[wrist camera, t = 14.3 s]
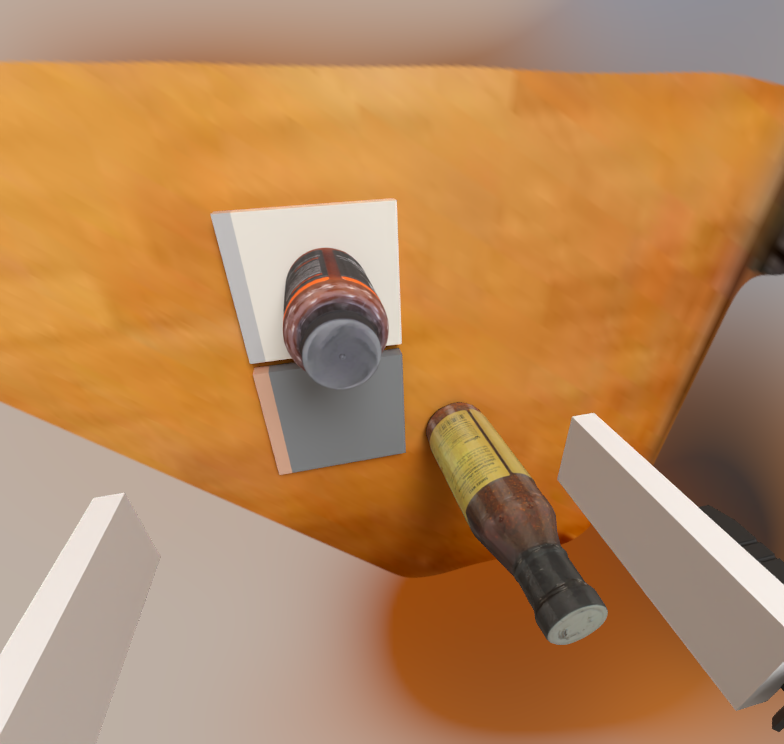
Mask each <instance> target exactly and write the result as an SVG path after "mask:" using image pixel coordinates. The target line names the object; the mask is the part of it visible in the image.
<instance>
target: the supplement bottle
mask: <svg viewBox="0 0 784 744" xmlns="http://www.w3.org/2000/svg"><path fill="white" fill-rule="evenodd" d="M388 334H389V323H388V318H387V315H386V312H385V309H384V307H383V305H382V303H381V301H380V299H379V297H378V295H377V293H376V292H375V290H374V288H373V286H372V284H371V283H370V281H369V279H368V277H367V275H366V273H365V272H364V270H363V268H362V267H361V265H360V264H359V263H358V262H357V261H356V260H355V259H354V258H353V257H352V256H350V255H349V254H347V253H346V252H344V251H341V250H338V249H334V248H317V249H313V250H310V251H308V252H306V253H304V254H303V255H301V256H300V257H299V258H298V259H297V260H296V261H295V262H294V263H293V265H292V266H291V268H290V270H289V272H288V275H287V278H286V283H285V295H284V310H283V338H284V343H285V346H286V349H287V351H288V353H289V354H290V356H291V358H292V359H293V360H294V361H295V363H296V364H297V365H298V366H300V368H302V369H303V370H304V371H306V372H307V374H308V375H309V376H310V378H312V380H313V381H315V382H316V383H318V384H319V385H321V386H323V387H326V388H329V389H334V390H346V389H350V388H355V387H357V386H360V385H361V384H363V383H365V382H366V381H367V380H369V379H370V378H371V377H372V375H373V374H374V373H375V371H377V369H378V366H379V364H380V361H381V355H382V353H383V351H384V349H385V347H386V344H387V340H388Z"/></svg>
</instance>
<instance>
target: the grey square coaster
mask: <svg viewBox="0 0 784 744" xmlns="http://www.w3.org/2000/svg"><path fill="white" fill-rule="evenodd" d="M253 377H254V381H255V384H256V388H257V392H258V396H259V400H260V403H261V407H262V411H263V415H264V418H265V422H266V426H267V430H268V434H269V437H270V441H271V445H272V449H273V452H274V456H275V460H276V464H277V468H278V471H279V475H282V474H288V473H294V472H299V471H305V470H311V469H316V468H322V467H327V466H333V465H339V464H344V463H350V462H356V461H361V460H367V459H372V458H378V457H384V456H389V455H395V454H401V453H406V450H405V422H404V394H403V366H402V353H401V351H400V349H399V348H396V349H389V350H384V351H383V353H382V355H381V361H380V364H379V366H378V369H377V371H375V373H374V374H373V375H372V377H371V378H370V379H369V380H367V381H366V382H365V383H363V384H361V385H360V386H357V387H355V388H350V389H346V390H334V389H329V388H326V387H323V386H321V385H319V384H318V383H316V382H315V381H313V380H312V378H310V376H309V375H308V374H307V372H306V371H304V370H303V369H302V368H300V366H298V365H297V364H296V363H295V362H293V363H285V364H278V365H270V366H263V367H256V368H254V372H253Z"/></svg>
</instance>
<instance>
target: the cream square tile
mask: <svg viewBox="0 0 784 744" xmlns="http://www.w3.org/2000/svg"><path fill="white" fill-rule="evenodd" d="M210 215H211V218H212V222H213V226H214V230H215V233H216V237H217V241H218V245H219V249H220V252H221V256H222V260H223V264H224V267H225V271H226V275H227V279H228V282H229V286H230V290H231V294H232V298H233V301H234V305H235V309H236V313H237V316H238V320H239V324H240V328H241V332H242V335H243V339H244V343H245V347H246V350H247V354H248V358H249V362H250V364H253V363H261V362H268V361H276V360H283V359H291V356H290V354H289V353H288V351H287V349H286V346H285V343H284V338H283V310H284V295H285V283H286V278H287V275H288V272H289V270H290V268H291V266H292V265H293V263H294V262H295V261H296V260H297V259H298V258H299V257H300V256H301V255H303V254H304V253H306V252H308V251H310V250H313V249H317V248H334V249H338V250H341V251H344V252H346V253H347V254H349V255H350V256H352V257H353V258H354V259H355V260H356V261H357V262H358V263H359V264H360V265H361V267H362V268H363V270H364V272H365V273H366V275H367V277H368V279H369V281H370V283H371V284H372V286H373V288H374V290H375V292H376V293H377V295H378V297H379V299H380V301H381V303H382V305H383V307H384V309H385V312H386V315H387V318H388V323H389V334H388V340H387V344H386V346H388V345H396V344H402V337H401V309H400V281H399V253H398V225H397V200H395V199H393V198H390V199H377V200H363V201H350V202H336V203H323V204H309V205H296V206H282V207H269V208H255V209H242V210H228V211H215V212H213V213H211V214H210Z"/></svg>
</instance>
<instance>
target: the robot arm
mask: <svg viewBox="0 0 784 744" xmlns="http://www.w3.org/2000/svg"><path fill="white" fill-rule="evenodd" d="M557 480H558V481H559V482H560V483H561V485H562V486H563V487H564V489H565V490H566V491H567V492H568V494H569V495H570V496H571V498H572V499H573V500H574V502H575V503H576V504H577V505H578V507H579V508H580V509H581V511H582V512H583V513H584V515H585V516H586V517H587V518H588V520H589V521H590V522H591V524H592V525H593V526H594V527H595V529H596V530H597V531H598V533H599V534H600V535H601V537H602V538H603V539H604V540H605V542H606V543H607V544H608V545H609V547H610V548H611V549H612V551H613V552H614V553H615V555H616V556H617V557H618V559H619V560H620V561H621V562H622V563H623V565H624V566H625V568H626V569H627V570H628V572H629V573H630V574H631V575H632V577H633V578H634V579H635V581H636V582H637V583H638V584H639V586H640V587H641V588H642V590H643V591H644V592H645V594H646V595H647V596H648V597H649V598H650V600H651V601H652V603H653V604H654V605H655V606H656V608H657V609H658V610H659V612H660V613H661V614H662V616H663V617H664V618H665V619H666V621H667V622H668V623H669V625H670V626H671V627H672V628H673V630H674V631H675V632H676V634H677V635H678V636H679V637H680V639H681V640H682V641H683V643H684V644H685V645H686V647H687V648H688V649H689V651H690V652H691V653H692V654H693V656H694V657H695V658H696V660H697V661H698V662H699V663H700V665H701V666H702V667H703V669H704V670H705V671H706V673H707V674H708V675H709V676H710V678H711V679H712V680H713V682H714V683H715V684H716V685H717V687H718V688H719V689H720V691H721V692H722V693H723V694H724V696H725V697H726V698H727V700H728V701H729V702H730V704H731V705H732V706H733V707H734V709H735V710H736V711H737V710H740V709H743V708H746V707H749V706H753V705H756V704H759V703H763V702H766V701H768V699H770V698H771V697H772V696H773V695H774V694H775V693H776V692H777V691H778V690H779V689H780V688H782V690H783V691H784V562H783V561H782V560H781V559H777V558H776V557H775V556H774V553H773V552H771V551H770V550H769V549H768V548H767V547H766V546H764V545H763V544H762V543H759V542H757V541H756V538H755V537H754V536H753V535H752V534H750V533H749V532H748V531H747V530H746V529H745V528H743V527H742V526H741V525H740V524H739V523H738V522H736V521H735V520H734V519H732V518H730V517H729V516H727V515H725V514H723V513H721V512H720V511H718V510H716V509H715V508H713V507H711V506H709V505H707V506H702V507H697V506H696V505H695V504H694V503H693V502H692V501H691V500H689V499H688V498H687V497H686V496H685V495H684V494H683V493H682V492H681V491H680V490H679V489H677V488H676V487H675V486H674V485H673V484H672V483H671V482H670V481H669V480H668V479H666V478H665V477H664V476H663V475H662V474H661V473H660V472H658V470H656V469H655V468H654V467H653V466H652V465H651V464H650V463H649V462H648V461H647V460H645V459H644V458H643V457H642V456H641V455H640V454H639V453H638V452H637V451H635V450H634V449H633V448H632V447H631V446H630V445H629V444H628V443H627V442H626V441H624V440H623V439H622V438H621V437H620V436H619V435H618V434H617V433H616V432H614V431H613V430H612V429H611V428H610V427H609V426H608V425H607V424H606V423H605V422H603V421H602V420H601V419H600V418H599V417H598V416H597V415H596V414H595V413H591V414H585V415H579V416H573V417H572V419H571V424H570V428H569V432H568V436H567V441H566V445H565V449H564V453H563V457H562V462H561V466H560V470H559V474H558V479H557ZM159 560H160V554H159V553H158V551H157V549H156V547H155V545H154V544H153V542H152V540H151V538H150V537H149V535H148V533H147V531H146V530H145V528H144V526H143V524H142V522H141V521H140V519H139V517H138V515H137V513H136V512H135V510H134V508H133V506H132V505H131V503H130V501H129V499H128V497H127V495H126V494H125V493H120V494H115V495H109V496H103V497H97V498H93V500H92V502H91V503H90V505H89V507H88V508H87V510H86V512H85V513H84V515H83V517H82V518H81V520H80V522H79V523H78V525H77V527H76V528H75V530H74V532H73V534H72V535H71V537H70V538H69V540H68V542H67V543H66V545H65V547H64V549H63V550H62V552H61V553H60V555H59V557H58V558H57V560H56V562H55V564H54V565H53V567H52V569H51V570H50V572H49V573H48V575H47V577H46V579H45V580H44V582H43V584H42V586H41V587H40V589H39V590H38V592H37V594H36V595H35V597H34V599H33V600H32V602H31V604H30V605H29V607H28V609H27V610H26V612H25V614H24V615H23V617H22V619H21V620H20V622H19V624H18V625H17V627H16V629H15V630H14V632H13V634H12V636H11V637H10V639H9V640H8V642H7V644H6V645H5V647H4V649H3V651H2V652H1V654H0V744H96V741H97V739H98V736H99V733H100V730H101V727H102V724H103V721H104V719H105V716H106V713H107V710H108V707H109V704H110V701H111V698H112V695H113V693H114V690H115V687H116V684H117V681H118V678H119V675H120V673H121V670H122V667H123V664H124V661H125V658H126V655H127V652H128V650H129V647H130V644H131V641H132V638H133V635H134V632H135V629H136V626H137V624H138V621H139V618H140V615H141V612H142V609H143V606H144V603H145V601H146V598H147V595H148V592H149V589H150V586H151V583H152V580H153V577H154V575H155V571H156V569H157V566H158V563H159ZM783 728H784V706H783V707H782V708H781V709H780V710H779V711H778V712H777V713H776V714H775V715H774V716H773V718H772V729H774V730H776V731H778V732H780V731H781V730H782V729H783Z"/></svg>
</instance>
